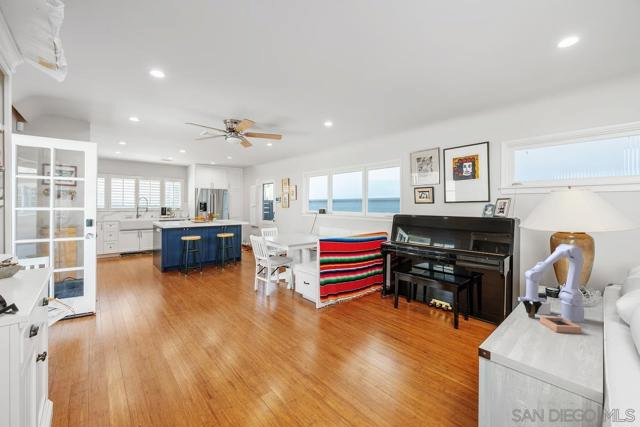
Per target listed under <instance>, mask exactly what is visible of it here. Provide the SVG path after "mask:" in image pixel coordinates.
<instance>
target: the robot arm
mask: <svg viewBox="0 0 640 427" xmlns="http://www.w3.org/2000/svg"><path fill="white" fill-rule="evenodd" d="M562 258H567V259H568V260H569V261H570V262H569V265H568V266H569V267H568V272H567V278H566V283H565V286H563V287H562V288H561V290H560V292H559V294H558V298H559V300H560V301H561V314H557V315H556V316H557V317H561V318H565V319H567V320H568V321H570V322H572V323H576V322H577V323H586V321H585V308H584V306H582V304H583V294H582V293H581V291H580V290H579V288H580V283H581V277H582V272H583V267H584V261H585V259H584V250H583V249H582V248H581V247H580V246H577V245H571V244H567V243H561V244H559V245H558V246H557V247H556V248H555V251H553V252H552V254H551V255H549V256H548V257H547V259H545V260H544V261H538V262H537V263H536V264H535V265H534V267H532V268H531V269H528V270H526V271H525V273H524V274H523V277H524V278H525V282H526V285H525V286H526V287H525V289H526V290H525V296H518V297H517V301H519V302H522V304H523V306H524V308H525V312H526V313H527V315H528V314H530V309H531V305H532V304H531V301H532V303H533V305H535V315H538V314H537V312H538V310H539V308H540V306H541V305H542V303H541V302H546V299H545V298H538V293H539V289H540V288H539V286H540V285H539V284H540V282H541V280H542V278H543V276H544V274H546V273H547V272H548V271H549V270H551V266H552V265H554V263H556V262H558V261H559V260H561V259H562Z"/></svg>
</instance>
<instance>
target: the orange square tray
mask: <svg viewBox="0 0 640 427" xmlns="http://www.w3.org/2000/svg"><path fill="white" fill-rule="evenodd" d="M539 323H540V324H541V325H543V326H545V327H546V328H548V329H550V330H551V331H553V332H554V333H558V334H576V335H577V334H579V335H581V334H582V326H580V325H578V324H576V323H575V322H570V321H568V320H567V319H565V318H561V317H558V316H557V317H555V316H540V317H539Z"/></svg>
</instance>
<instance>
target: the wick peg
mask: <svg viewBox="0 0 640 427" xmlns="http://www.w3.org/2000/svg"><path fill="white" fill-rule="evenodd" d="M527 316H528V318H533V319H535V318H536V314H535V305H533V304H532V305H531V309H530V314H528V313H527Z"/></svg>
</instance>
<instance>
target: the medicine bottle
mask: <svg viewBox="0 0 640 427" xmlns="http://www.w3.org/2000/svg"><path fill="white" fill-rule="evenodd" d="M538 298H545V299H546V302H541V303H542V305H541V306H540V308H539V310H538V312H537V314H536V315H544V316H545V315H548V316H549V315H550V316H551V303H550V302H549V301H548V295H547V294H545V293H544V292H538ZM530 303H531V304H533V303H532V301H530Z"/></svg>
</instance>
